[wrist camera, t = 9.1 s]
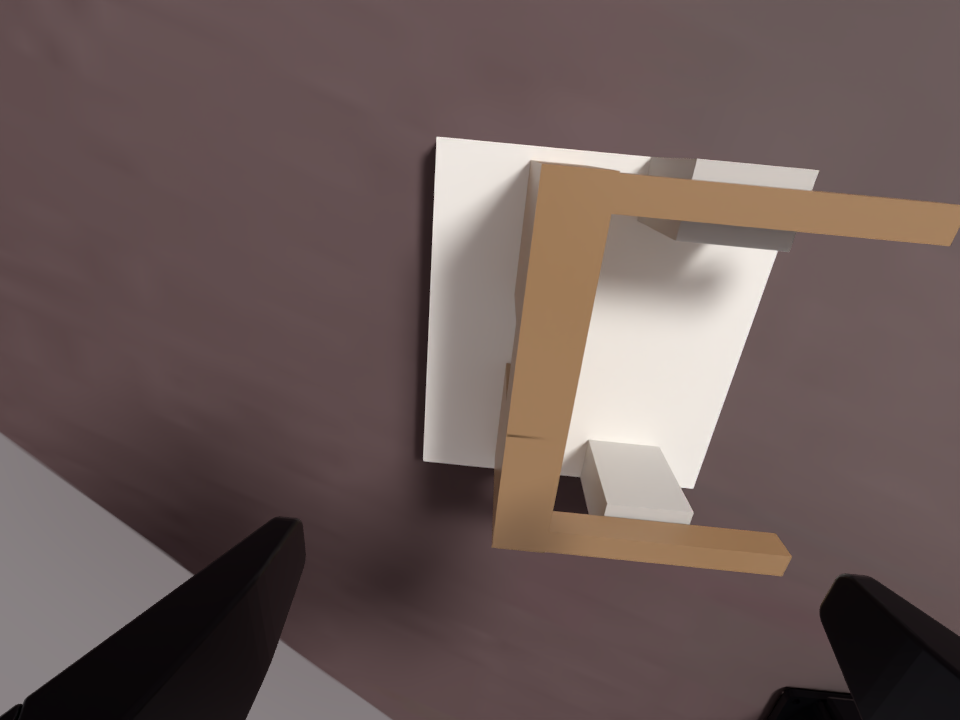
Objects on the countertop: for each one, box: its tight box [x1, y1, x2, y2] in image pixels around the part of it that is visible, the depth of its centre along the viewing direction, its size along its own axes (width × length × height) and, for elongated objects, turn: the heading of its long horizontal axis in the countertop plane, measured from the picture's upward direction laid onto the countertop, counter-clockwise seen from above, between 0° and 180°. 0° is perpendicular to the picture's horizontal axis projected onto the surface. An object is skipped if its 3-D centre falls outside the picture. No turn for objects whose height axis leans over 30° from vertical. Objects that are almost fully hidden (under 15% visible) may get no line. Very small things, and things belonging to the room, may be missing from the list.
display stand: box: [423, 137, 819, 525], centre depth 16 cm, size 12×13×5 cm
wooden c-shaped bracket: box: [492, 160, 960, 576], centre depth 15 cm, size 10×12×5 cm
